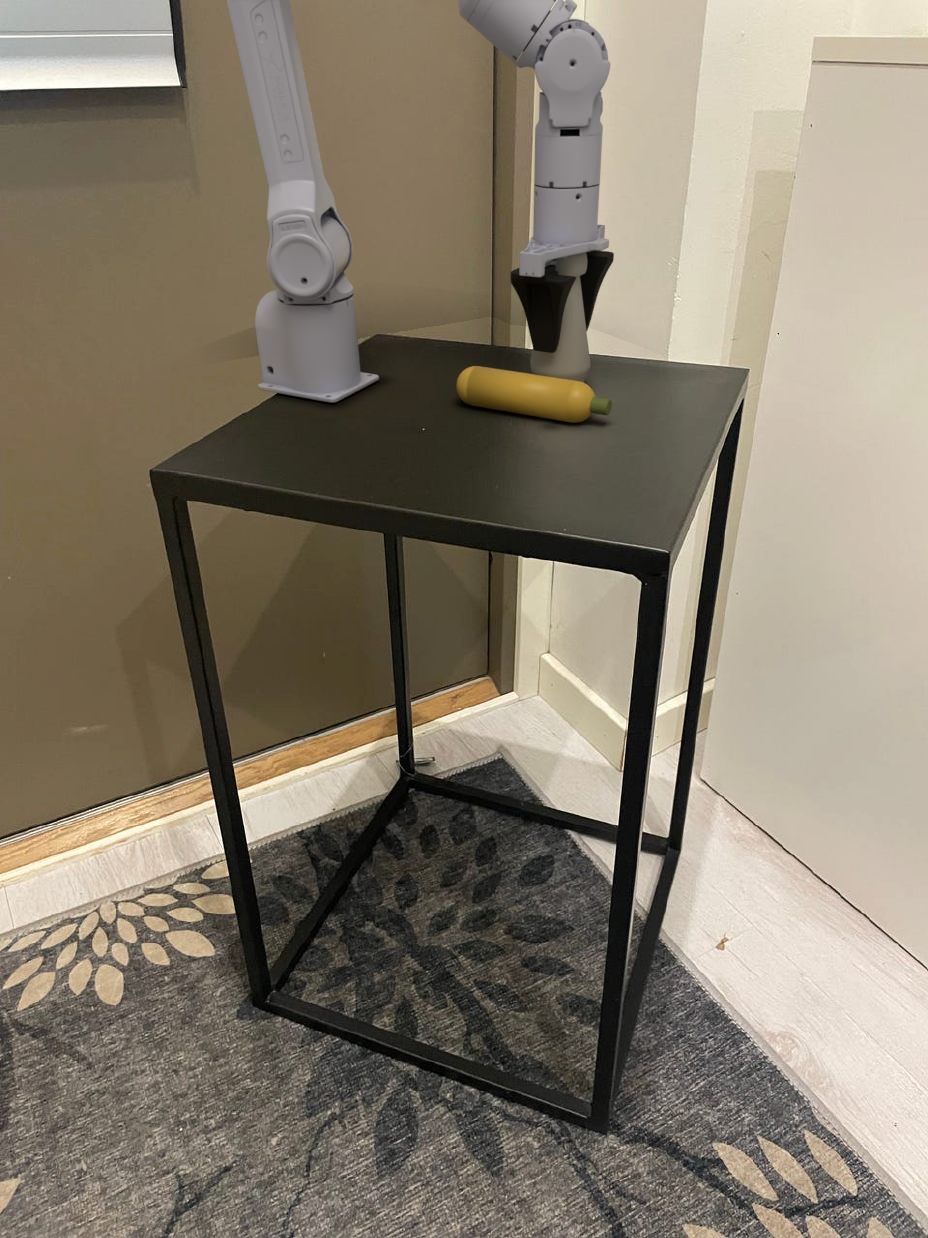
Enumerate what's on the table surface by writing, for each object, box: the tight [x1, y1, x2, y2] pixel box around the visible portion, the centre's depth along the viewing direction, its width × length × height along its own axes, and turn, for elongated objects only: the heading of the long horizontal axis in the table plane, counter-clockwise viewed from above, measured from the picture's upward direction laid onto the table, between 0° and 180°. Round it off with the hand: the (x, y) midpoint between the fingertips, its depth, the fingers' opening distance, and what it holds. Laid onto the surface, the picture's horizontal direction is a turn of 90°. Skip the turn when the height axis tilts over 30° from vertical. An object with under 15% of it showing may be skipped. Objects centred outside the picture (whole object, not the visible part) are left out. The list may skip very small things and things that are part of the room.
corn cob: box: [455, 365, 613, 424], centre depth 83 cm, size 15×4×4 cm, turn 61°
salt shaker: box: [529, 252, 591, 383], centre depth 86 cm, size 6×6×13 cm
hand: (561, 340), depth 88 cm, fingers open, 7 cm apart
